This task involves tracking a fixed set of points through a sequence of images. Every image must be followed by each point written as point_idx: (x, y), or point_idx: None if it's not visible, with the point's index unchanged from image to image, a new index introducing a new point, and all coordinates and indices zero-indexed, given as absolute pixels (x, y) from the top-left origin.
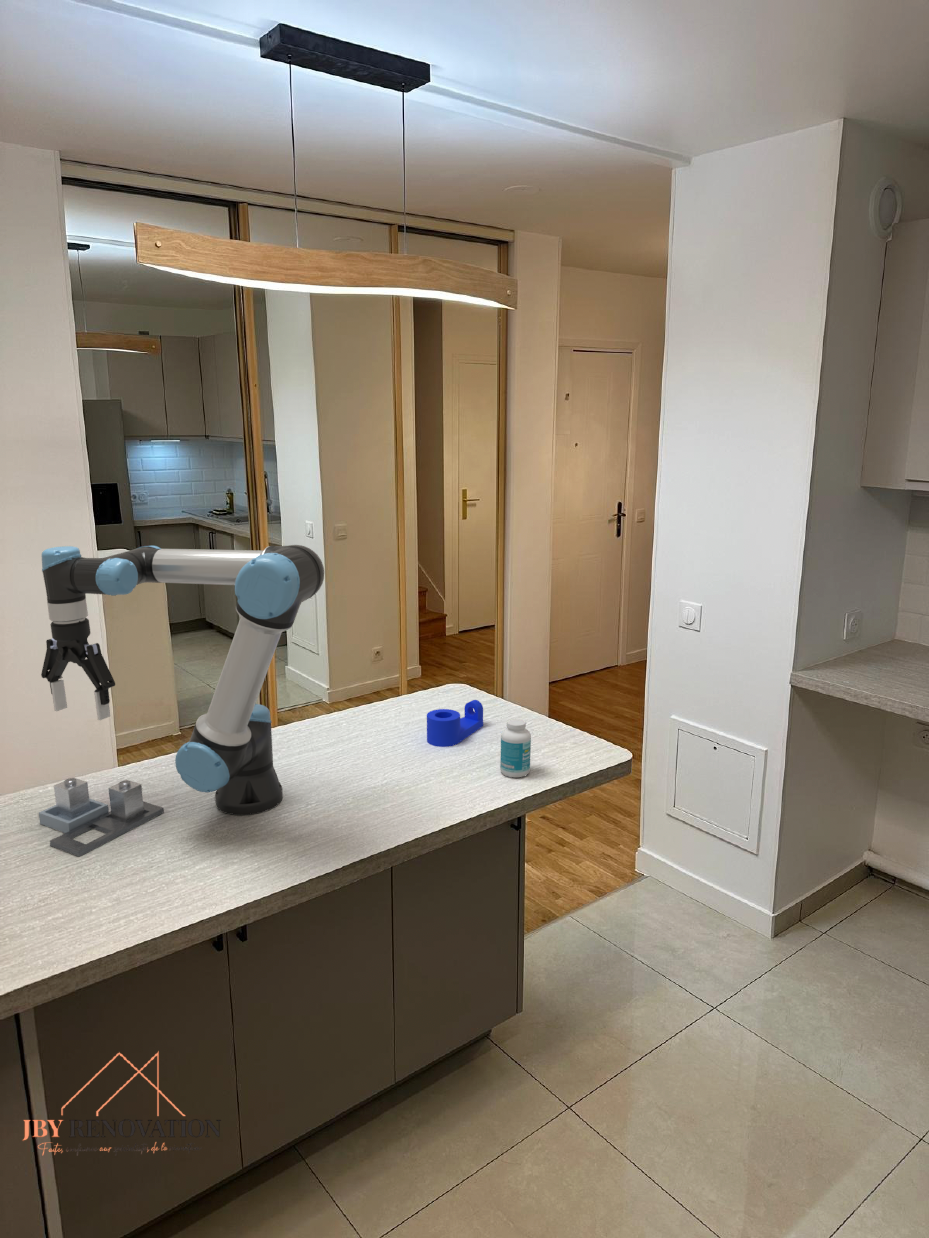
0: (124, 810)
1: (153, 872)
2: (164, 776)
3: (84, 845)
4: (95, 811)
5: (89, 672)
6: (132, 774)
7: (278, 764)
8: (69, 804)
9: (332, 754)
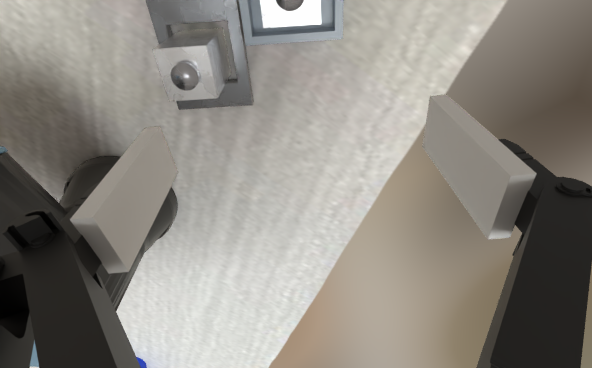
0: (170, 38)
1: None
2: (305, 185)
3: None
4: (240, 9)
5: (41, 344)
6: (359, 165)
7: (206, 273)
8: None
9: (181, 310)
